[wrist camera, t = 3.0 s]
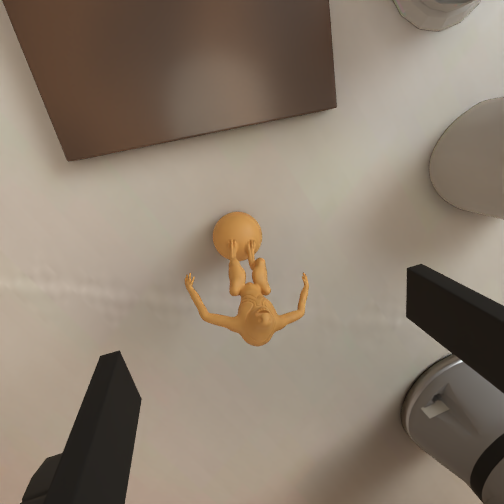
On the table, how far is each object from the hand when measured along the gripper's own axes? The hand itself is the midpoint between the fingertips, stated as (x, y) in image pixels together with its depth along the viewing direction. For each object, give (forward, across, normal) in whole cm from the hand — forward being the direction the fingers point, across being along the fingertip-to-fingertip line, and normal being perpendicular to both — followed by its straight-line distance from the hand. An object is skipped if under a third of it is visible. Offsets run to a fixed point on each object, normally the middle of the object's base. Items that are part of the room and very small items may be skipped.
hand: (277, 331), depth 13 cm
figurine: (+14, 0, 0) cm, 14 cm away
